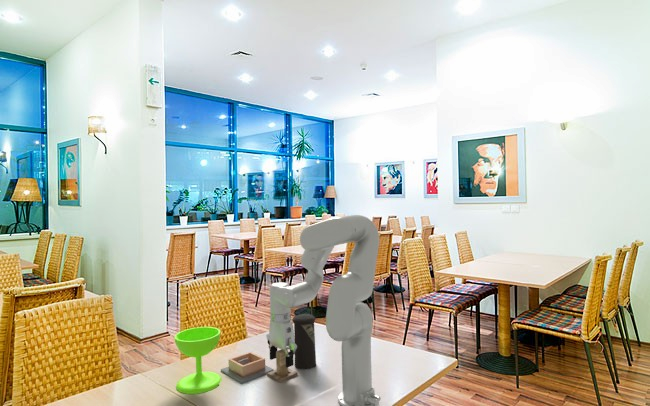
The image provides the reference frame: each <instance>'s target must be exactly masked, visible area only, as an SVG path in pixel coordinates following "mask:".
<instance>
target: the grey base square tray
mask: <svg viewBox="0 0 650 406" xmlns="http://www.w3.org/2000/svg"><path fill="white" fill-rule="evenodd" d="M274 370H275V369H274V368H272V367H270V366H268V365H266V358H265V357H263V356H261V355H259V354H257V353H254V352H253V351H248V352H246V353H243V354H240V355H237V356H234V357H232V358H228V366H227V367H223V368H220V372H222V373H223V374H225V375H227V376H228V377H230V378H232V379H233V380H235V381H237V382H239V383H240V384H244V383H247V382H250V381H252V380H254V379H257V378H260V377H262V376H265V375H267V373H269V372H271V371H274Z"/></svg>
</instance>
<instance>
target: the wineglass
mask: <svg viewBox="0 0 650 406" xmlns="http://www.w3.org/2000/svg"><path fill="white" fill-rule="evenodd" d="M221 332H222V331H221V329H220V328H218V327H215V326H197V327H191V328H188V329H184V330H182V331H180V332H177V333H176V334H175V335H174V343H175V345H176V347H177V349H178V351H179V352H181V353H182V354H183V355H185V356H187V357H189V358H195V368H196V369H195V370H196V372H194V373H191V374H188V375H186V376H184V377H182V378H181V379H180V380H179V381H178V382H177V383H176V386H175V389H176V391H177V392H178V393H181V392H182V393H181V394H185V393H186V394H187V395H196V394H202V393H206V392H209V391H212V390H214V389H216V388H218V387H219V386H220V384H221V382H222V376H221V375H219V373H216V372H212V371H202V370H203V368H202V366H203V365H202V364H203V363H202V357H204V356H207V355H208V354H210V353H211V352H212V351H213V350H215V348H216V347H217V345H218V344H219V341H220V339H221Z"/></svg>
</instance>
